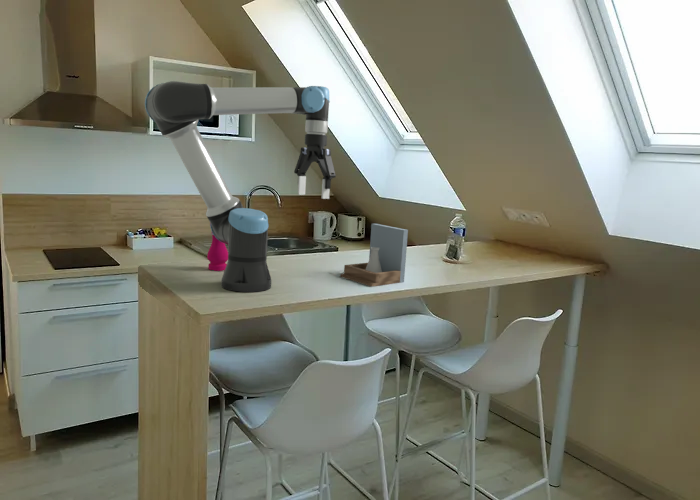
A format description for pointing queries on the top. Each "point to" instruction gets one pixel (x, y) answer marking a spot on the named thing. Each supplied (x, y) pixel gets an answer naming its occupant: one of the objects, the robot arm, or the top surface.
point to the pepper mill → (217, 255)
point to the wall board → (390, 247)
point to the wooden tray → (370, 275)
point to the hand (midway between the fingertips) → (313, 196)
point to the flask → (374, 261)
